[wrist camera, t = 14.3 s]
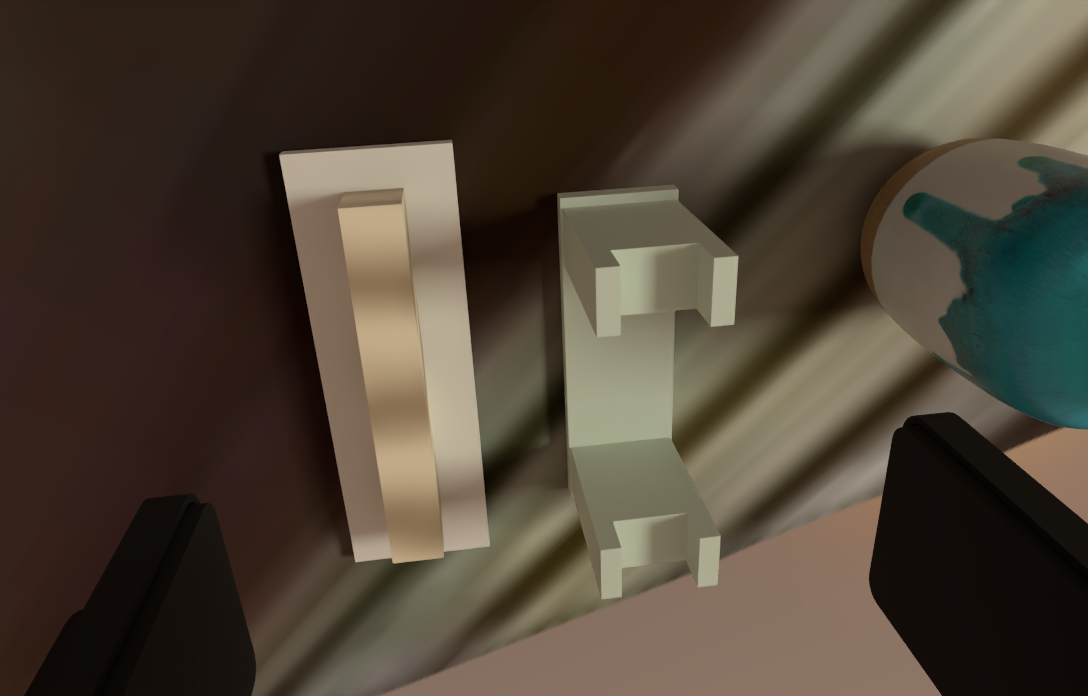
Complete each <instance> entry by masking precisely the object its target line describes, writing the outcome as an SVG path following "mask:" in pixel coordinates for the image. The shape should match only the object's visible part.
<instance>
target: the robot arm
mask: <svg viewBox="0 0 1088 696" xmlns="http://www.w3.org/2000/svg"><path fill="white" fill-rule="evenodd" d="M869 583H870V588H871V592H872V595H873V597H874V599H875V601H876V603H877V604H878V606H879V607H880V609H881V610H882V611H883V613H884V614H885V616H886V617H887V618H888V620H889V621H890V623H891V624H892V626H893V627H894V628H895V630H896V631H897V633H898V634H899V635H900V637H901V638H902V639H903V641H904V642H905V643H906V645H907V647H908V648H909V649H910V651H911V652H912V654H913V655H914V657H915V658H916V659H917V661H918V662H919V664H920V665H921V666H922V668H923V669H924V671H925V672H926V674H927V675H928V676H929V678H930V679H931V680H932V682H933V683H934V685H935V686H936V688H937V689H938V690H939V692H940V693H941V695H942V696H1088V524H1087V523H1086V522H1085V521H1084V520H1083V519H1081V518H1080V517H1079V516H1078V515H1077V514H1075V513H1074V512H1073V511H1072V510H1071V509H1069V508H1068V507H1067V506H1066V505H1065V504H1063V503H1062V502H1061V501H1060V500H1059V499H1057V498H1056V497H1055V496H1054V495H1053V494H1052V493H1050V492H1049V491H1048V490H1047V489H1045V488H1044V487H1043V486H1042V485H1041V484H1039V483H1038V482H1037V481H1036V480H1035V479H1034V478H1032V477H1031V476H1030V475H1029V474H1028V473H1026V472H1025V471H1024V470H1023V469H1022V468H1020V467H1019V466H1018V465H1017V464H1016V463H1014V462H1013V461H1012V460H1011V459H1010V458H1008V457H1007V456H1006V455H1005V454H1004V453H1002V452H1001V451H1000V450H999V449H998V448H996V447H995V446H994V445H993V444H992V443H990V442H989V441H988V440H987V439H986V438H984V437H983V436H982V435H981V434H980V433H979V432H977V431H976V430H975V429H974V428H973V427H971V426H970V425H969V424H968V423H967V422H965V421H964V420H963V419H962V418H961V417H959V416H958V415H956V414H954V413H951V412H945V413H936V414H926V415H917V416H911V417H909V418H907V420H906V421H905V423H904V425H903V427H901V428H898V429H896V431H895V432H894V434H893V438H892V443H891V449H890V455H889V461H888V467H887V473H886V479H885V485H884V490H883V496H882V503H881V509H880V515H879V520H878V526H877V532H876V537H875V543H874V549H873V555H872V561H871V567H870V573H869ZM255 675H256V660H255V654H254V649H253V646H252V642H251V639H250V635H249V631H248V628H247V624H246V620H245V617H244V613H243V609H242V606H241V602H240V599H239V595H238V591H237V588H236V584H235V580H234V577H233V573H232V569H231V566H230V562H229V559H228V555H227V551H226V548H225V544H224V540H223V537H222V533H221V529H220V526H219V522H218V519H217V515H216V512H215V509H214V507H213V505H212V504H210V503H204V504H200V502H199V499H198V498H197V497H196V495H194V494H184V495H175V496H165V497H156V498H149V499H146V500H145V501H144V502H143V503H142V505H141V506H140V508H139V510H138V512H137V513H136V515H135V517H134V519H133V521H132V522H131V524H130V526H129V528H128V530H127V531H126V533H125V535H124V537H123V539H122V540H121V542H120V544H119V546H118V548H117V549H116V551H115V553H114V555H113V557H112V558H111V560H110V562H109V564H108V566H107V567H106V569H105V571H104V573H103V575H102V576H101V578H100V580H99V582H98V584H97V585H96V587H95V589H94V591H93V593H92V594H91V596H90V598H89V600H88V602H87V603H86V605H85V607H84V609H83V610H80V611H78V612H76V613H75V614H73V615H72V616H71V617H70V619H69V620H68V621H67V623H66V624H65V625H64V627H63V629H62V631H61V632H60V634H59V636H58V638H57V639H56V641H55V643H54V645H53V646H52V648H51V650H50V652H49V653H48V655H47V657H46V659H45V660H44V662H43V664H42V666H41V667H40V669H39V671H38V673H37V674H36V676H35V678H34V680H33V681H32V683H31V685H30V687H29V688H28V690H27V692H26V694H25V695H24V696H251V695H252V691H253V687H254V682H255Z"/></svg>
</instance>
